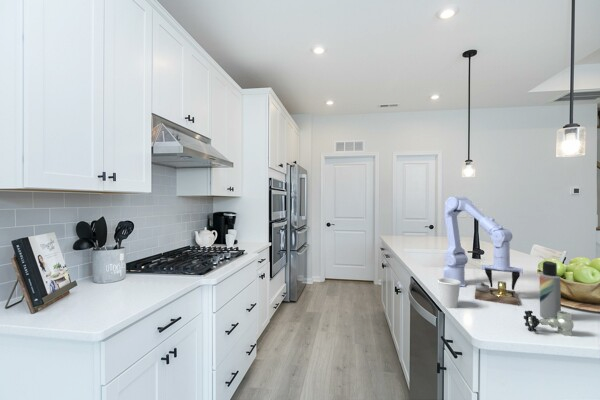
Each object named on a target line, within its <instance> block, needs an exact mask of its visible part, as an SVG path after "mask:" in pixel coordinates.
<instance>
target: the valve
mask: <svg viewBox="0 0 600 400" xmlns="http://www.w3.org/2000/svg"><path fill="white" fill-rule="evenodd" d="M533 314H534V313H533V311H532V310H524V315H523V319H524V320H525V322H524V326H525V327H527V330H528V332H535V333H536V332H537V328H538V326H539V325H543V326H548V325H549V326H550V327H551V328H554V329H557V334H559V335H562V336H564V337H572V335H573V331H572V330H573V329H574V327H575V325H574V321H573V320H572V313H570V312H567V311H564V310H561V311H558V312H557V319H555V318H549V319H545V318H540V319H539V318H537V316H536V315H533Z"/></svg>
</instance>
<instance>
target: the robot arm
mask: <svg viewBox="0 0 600 400" xmlns="http://www.w3.org/2000/svg"><path fill="white" fill-rule="evenodd" d="M444 203H445V209H444V215H443V216H444V221H445V229H446V230H445V231H446V235H447V244H448V248H447V249H446V250H445V256H444V262H445V265H443V278H449V279H455V280H458V281H460V282H461V284H460V287H463V288H466V284H467V282H466V280H465V278H466V277H465V267H466V265H467V263H468V260H469V259H468V255H467V254H466V250H465V249H464V248H463V247H462V245H461V237H460V231H459V229H460V228H459V222H458V215H459V214H460V213H461V212H463V211H464V212H467V213H468V214H469V215H470V216H472V218H474V219H475V220H477V221H478V222H479V223H478V225H479V227H481V228H482V229H483V230H484V231H485V232H486V233H487V234H488V235H489V237H490V239H491V241H492V245H493V264H482V265H481V266H482V267H481V268H482V269H481V270H483V271H484V273H485V275H486V276H487V278H488V281H489V284H490V285H489V287H490V288H493V277H492V276H493V272H494V271H496V272H504V273H505V272H506V273H511V291H515V287H516V284H517V282H518V280H519V278H520V276H521V275H523V274H524V269H523V268H521V267H513V266H511V262H510V259H511V258H510V257H511V255H510V253H511V252H510V245H511V244H510V242H511V241H512V239H513V234H512V232H511V231H510V229H508V228H504V227H503V225H500V224H499V223H498V222H496V221H495V218H494V217H490V216H486V215H484V213H482V211H480V210H479V209H478V208H477V207H476V206H475V205H474V204H473V202H472V200H470V199H469V197H466V196H450V197H448V198H447V199H446V200H445V202H444ZM492 271H493V272H492Z"/></svg>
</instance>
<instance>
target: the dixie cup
mask: <svg viewBox="0 0 600 400" xmlns="http://www.w3.org/2000/svg"><path fill="white" fill-rule="evenodd" d="M437 282H438V283H437V284H438V289H439V296H440V304H441V306H442V307H444V308H448V309H457V308H458V304H459V303H458V302H459V297H460V288H461V286H460V284H461V282H460V281H458V280H455V279H449V278H438V279H437Z"/></svg>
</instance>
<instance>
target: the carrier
mask: <svg viewBox="0 0 600 400" xmlns="http://www.w3.org/2000/svg"><path fill="white" fill-rule="evenodd" d="M493 291H498V288H496V287H495V288H494V287H490V285H489V284H485V283H484V282H480V283H476V285H475V291H474V300H478V301H479V300H480V301H485V302H491V303H492V302H493V303H499V304H506V305H513V306H519V299H518V297H517V292H516V291H515V290H512V289H506V292H507V293H510V294H512V297H504V296H497V295H492V292H493Z"/></svg>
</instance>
